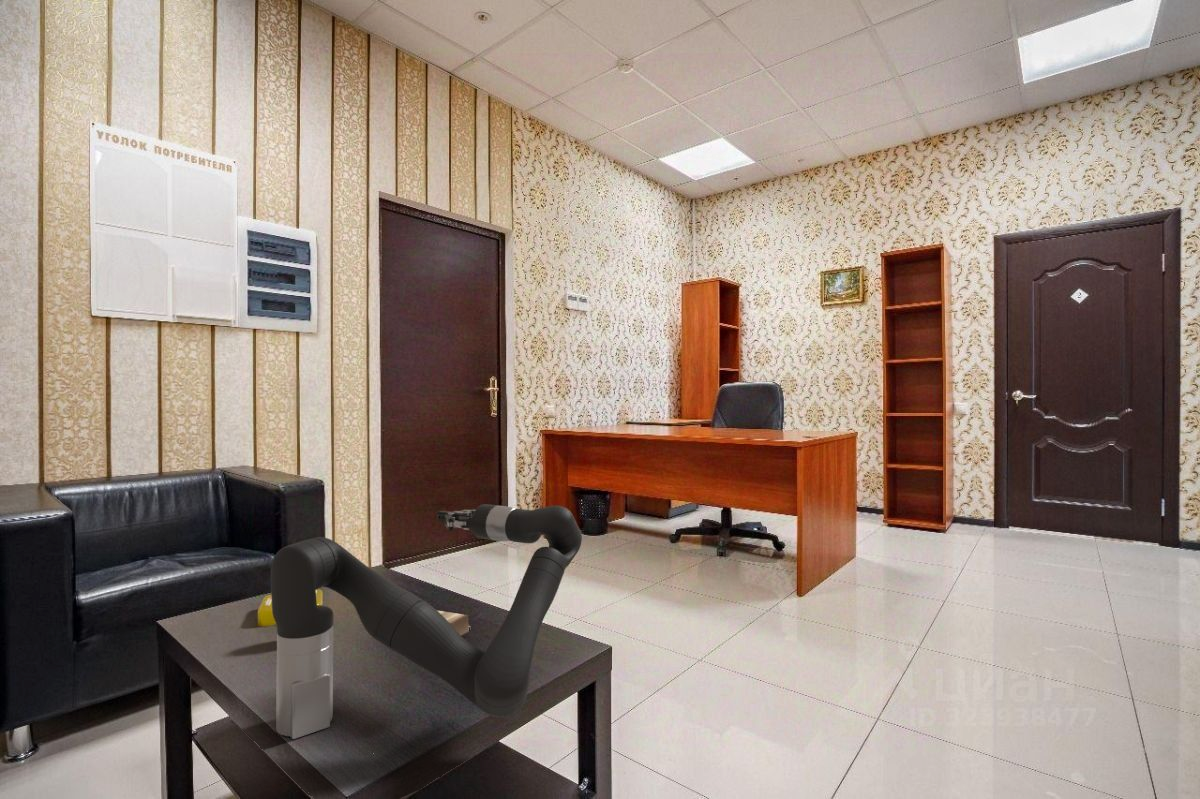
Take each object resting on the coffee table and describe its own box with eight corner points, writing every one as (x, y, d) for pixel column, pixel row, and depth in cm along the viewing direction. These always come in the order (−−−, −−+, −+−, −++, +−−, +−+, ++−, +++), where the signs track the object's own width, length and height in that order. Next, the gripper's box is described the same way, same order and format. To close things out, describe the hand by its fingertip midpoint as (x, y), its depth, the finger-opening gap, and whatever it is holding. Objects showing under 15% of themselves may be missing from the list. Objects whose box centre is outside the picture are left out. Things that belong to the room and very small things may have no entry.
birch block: (468, 615, 144) (427, 608, 151) (451, 623, 139) (409, 616, 145) (468, 631, 144) (427, 624, 150) (452, 639, 139) (410, 632, 145)
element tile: (264, 609, 163) (264, 593, 163) (322, 602, 169) (322, 586, 169) (256, 629, 149) (256, 610, 149) (320, 620, 155) (320, 602, 155)
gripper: (478, 546, 120) (418, 537, 128) (515, 533, 132) (458, 526, 140) (478, 511, 120) (417, 504, 128) (515, 501, 132) (458, 495, 140)
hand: (439, 515), depth 134 cm, fingers closed
